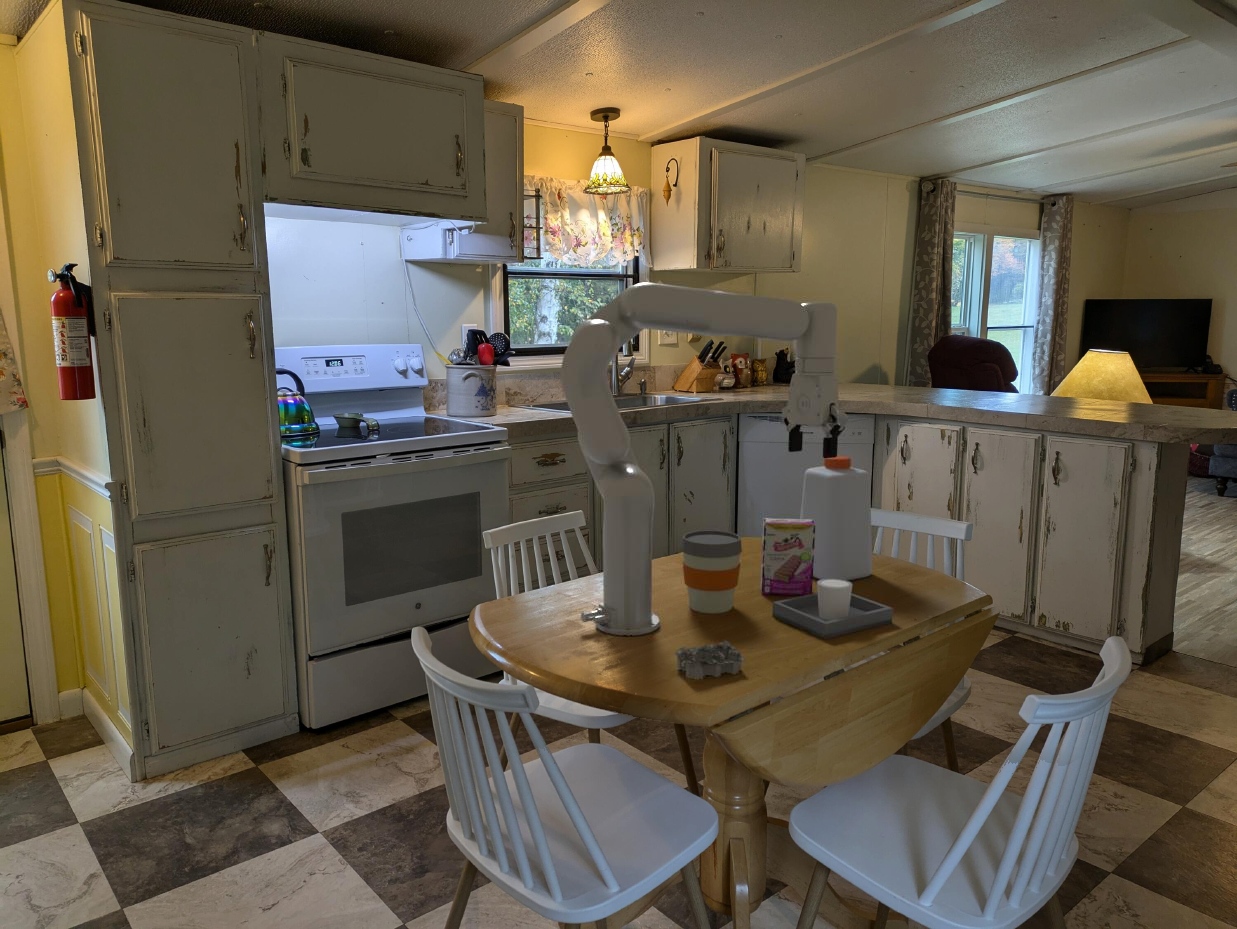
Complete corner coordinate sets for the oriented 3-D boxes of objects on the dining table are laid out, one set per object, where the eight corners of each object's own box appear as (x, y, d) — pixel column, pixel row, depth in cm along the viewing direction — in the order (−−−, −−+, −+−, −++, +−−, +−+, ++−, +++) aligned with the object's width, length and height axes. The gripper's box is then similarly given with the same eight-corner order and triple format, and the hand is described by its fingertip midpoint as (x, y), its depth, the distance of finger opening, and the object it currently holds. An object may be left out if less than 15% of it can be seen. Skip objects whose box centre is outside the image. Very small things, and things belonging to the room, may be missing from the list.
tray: (824, 639, 159) (825, 624, 158) (772, 616, 171) (772, 602, 171) (892, 622, 168) (892, 608, 167) (837, 601, 180) (837, 588, 180)
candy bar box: (761, 595, 185) (763, 522, 182) (760, 588, 190) (761, 517, 187) (813, 597, 184) (816, 523, 181) (810, 590, 189) (813, 518, 186)
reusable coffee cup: (750, 603, 180) (752, 534, 177) (724, 620, 169) (725, 547, 167) (698, 593, 186) (699, 527, 184) (669, 609, 176) (670, 539, 174)
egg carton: (688, 683, 140) (688, 660, 139) (672, 666, 147) (672, 644, 146) (747, 675, 143) (747, 652, 142) (728, 658, 150) (728, 636, 150)
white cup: (855, 614, 170) (856, 581, 169) (845, 624, 164) (847, 590, 163) (821, 608, 174) (823, 576, 172) (811, 618, 168) (812, 584, 167)
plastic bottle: (787, 569, 205) (791, 455, 201) (835, 561, 212) (839, 451, 208) (830, 585, 192) (835, 464, 187) (879, 576, 199) (885, 459, 194)
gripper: (770, 365, 169) (768, 450, 172) (833, 369, 154) (829, 461, 157) (799, 365, 173) (796, 447, 175) (862, 368, 158) (858, 458, 161)
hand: (812, 454), depth 166 cm, fingers open, 9 cm apart
